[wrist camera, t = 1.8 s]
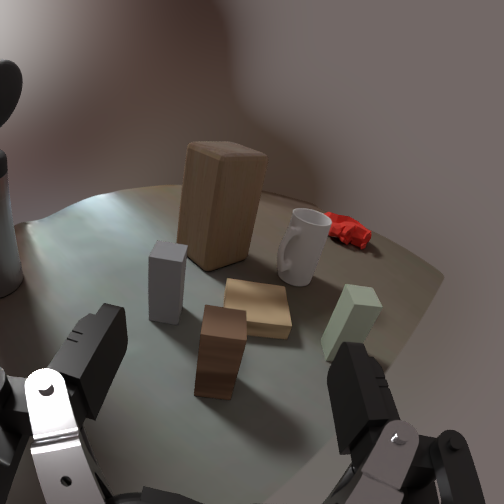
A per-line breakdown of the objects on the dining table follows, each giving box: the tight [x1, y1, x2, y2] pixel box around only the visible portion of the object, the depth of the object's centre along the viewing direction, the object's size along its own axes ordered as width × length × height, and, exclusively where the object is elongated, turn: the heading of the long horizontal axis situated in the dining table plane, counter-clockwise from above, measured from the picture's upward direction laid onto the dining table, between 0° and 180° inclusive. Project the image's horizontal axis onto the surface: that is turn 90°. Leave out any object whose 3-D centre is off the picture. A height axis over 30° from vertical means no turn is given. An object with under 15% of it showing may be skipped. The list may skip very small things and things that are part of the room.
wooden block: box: [177, 142, 268, 271], centre depth 52 cm, size 10×10×20 cm
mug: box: [277, 208, 332, 286], centre depth 51 cm, size 10×7×12 cm, turn 133°
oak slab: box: [224, 278, 292, 339], centre depth 44 cm, size 9×9×3 cm
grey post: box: [148, 240, 188, 325], centre depth 38 cm, size 4×4×10 cm
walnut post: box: [194, 305, 247, 400], centre depth 30 cm, size 4×4×10 cm
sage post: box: [321, 284, 383, 361], centre depth 38 cm, size 4×4×10 cm
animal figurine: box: [324, 212, 371, 249], centre depth 75 cm, size 12×15×5 cm
